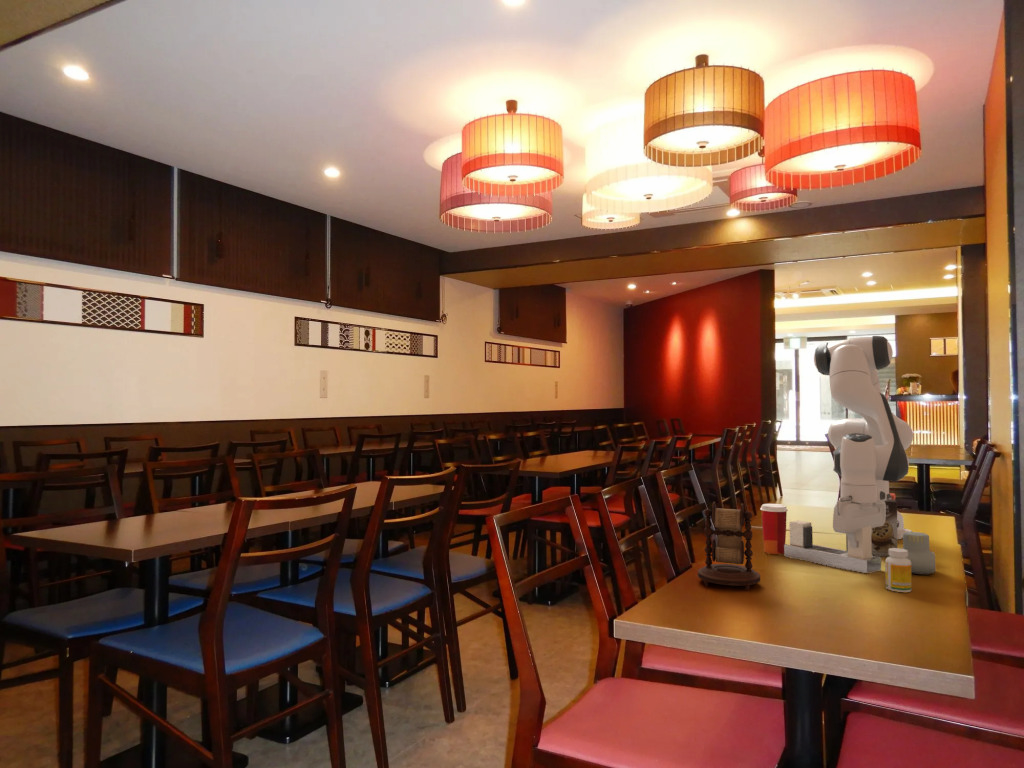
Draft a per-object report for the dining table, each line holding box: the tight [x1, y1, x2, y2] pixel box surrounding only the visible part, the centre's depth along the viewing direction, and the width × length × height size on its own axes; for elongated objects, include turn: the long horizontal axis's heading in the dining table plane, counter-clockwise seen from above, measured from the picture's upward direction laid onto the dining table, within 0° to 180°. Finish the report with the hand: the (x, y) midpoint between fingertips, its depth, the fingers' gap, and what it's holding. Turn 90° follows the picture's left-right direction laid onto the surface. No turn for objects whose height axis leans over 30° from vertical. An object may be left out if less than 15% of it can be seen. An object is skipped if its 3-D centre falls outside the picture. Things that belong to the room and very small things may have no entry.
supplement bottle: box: [884, 547, 912, 593], centre depth 160 cm, size 5×5×10 cm
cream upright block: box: [845, 526, 872, 559], centre depth 180 cm, size 5×4×9 cm
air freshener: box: [901, 531, 937, 575], centre depth 177 cm, size 11×8×10 cm
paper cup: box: [759, 503, 788, 555], centre depth 200 cm, size 8×8×14 cm
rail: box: [783, 520, 882, 574], centre depth 186 cm, size 7×24×10 cm, turn 34°
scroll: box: [697, 501, 761, 591], centre depth 167 cm, size 15×15×20 cm
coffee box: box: [871, 499, 898, 558], centre depth 197 cm, size 9×6×16 cm
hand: (859, 546), depth 180 cm, fingers closed on cream upright block, 4 cm apart
